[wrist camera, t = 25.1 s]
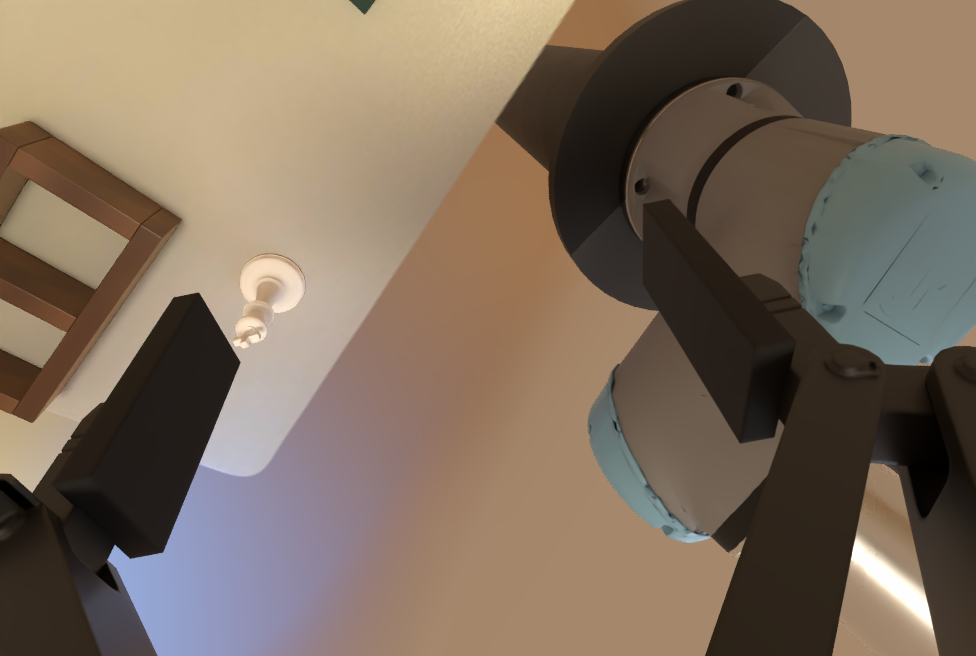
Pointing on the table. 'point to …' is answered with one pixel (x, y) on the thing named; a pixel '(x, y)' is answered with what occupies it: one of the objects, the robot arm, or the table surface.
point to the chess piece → (266, 295)
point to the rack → (50, 293)
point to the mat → (363, 4)
